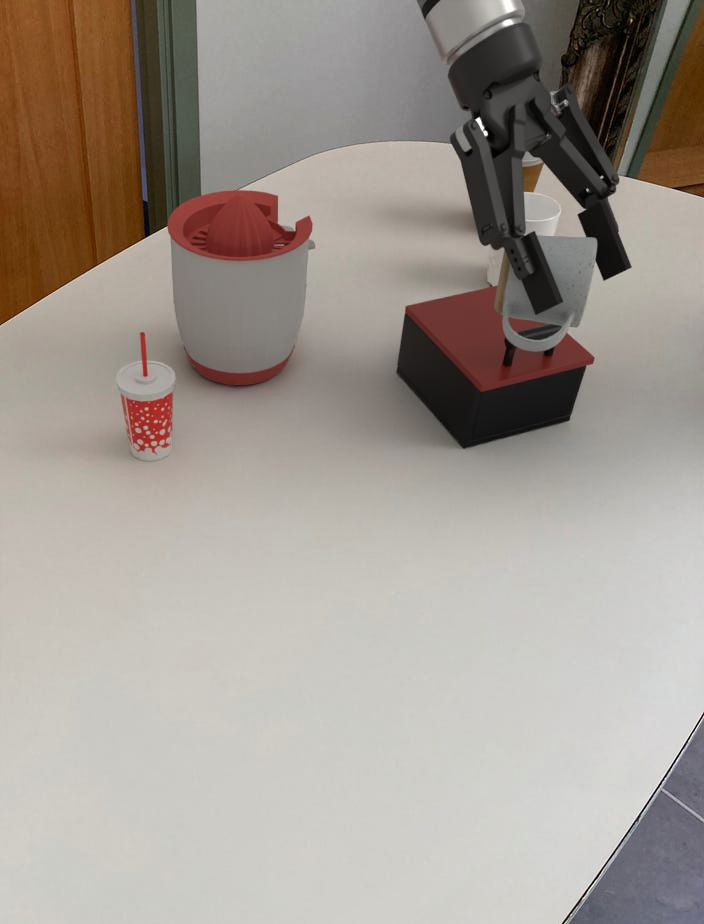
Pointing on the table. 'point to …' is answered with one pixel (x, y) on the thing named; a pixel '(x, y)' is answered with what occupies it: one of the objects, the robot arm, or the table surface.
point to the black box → (481, 394)
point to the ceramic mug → (572, 278)
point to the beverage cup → (147, 406)
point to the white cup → (528, 227)
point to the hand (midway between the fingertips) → (584, 290)
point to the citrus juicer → (238, 284)
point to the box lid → (492, 340)
